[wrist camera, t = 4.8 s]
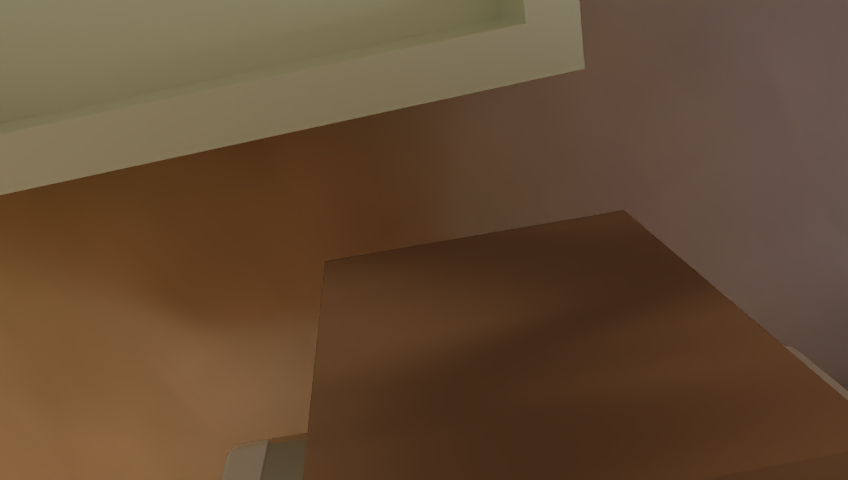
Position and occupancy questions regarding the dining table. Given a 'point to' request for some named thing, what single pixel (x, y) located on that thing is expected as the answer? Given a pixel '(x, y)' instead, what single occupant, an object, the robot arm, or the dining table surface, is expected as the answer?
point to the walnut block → (556, 367)
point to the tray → (245, 71)
